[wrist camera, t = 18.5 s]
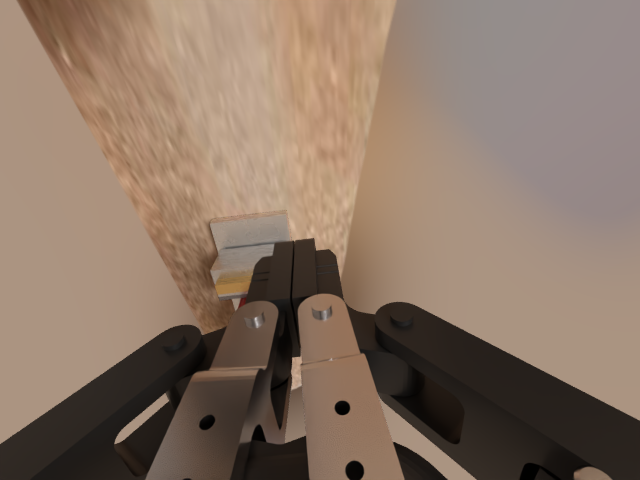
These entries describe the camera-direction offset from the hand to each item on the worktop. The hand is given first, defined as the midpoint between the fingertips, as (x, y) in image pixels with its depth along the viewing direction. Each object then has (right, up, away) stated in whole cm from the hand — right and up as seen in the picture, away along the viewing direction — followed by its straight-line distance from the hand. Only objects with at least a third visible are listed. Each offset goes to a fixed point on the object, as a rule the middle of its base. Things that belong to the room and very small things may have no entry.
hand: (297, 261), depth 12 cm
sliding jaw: (-7, -2, +27) cm, 28 cm away
